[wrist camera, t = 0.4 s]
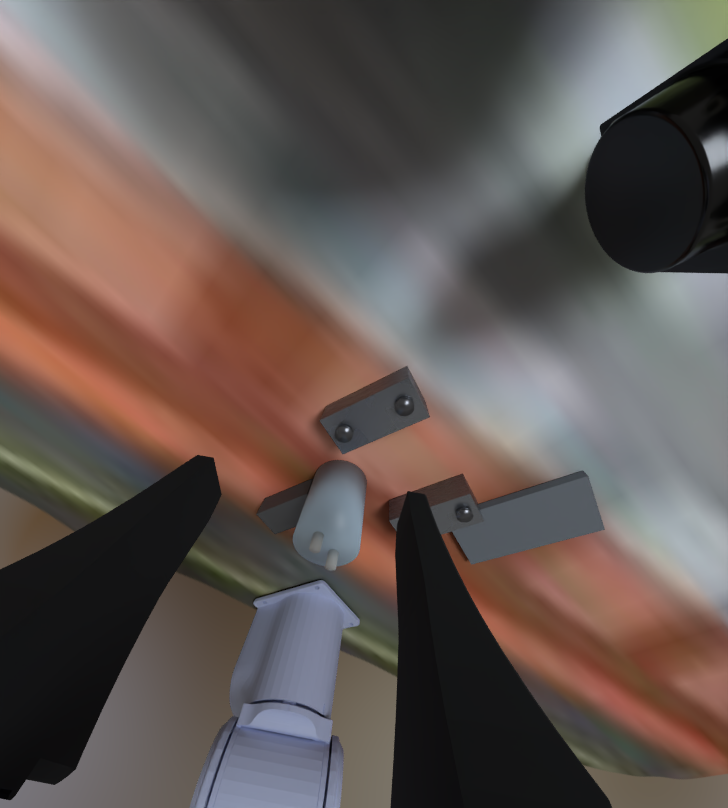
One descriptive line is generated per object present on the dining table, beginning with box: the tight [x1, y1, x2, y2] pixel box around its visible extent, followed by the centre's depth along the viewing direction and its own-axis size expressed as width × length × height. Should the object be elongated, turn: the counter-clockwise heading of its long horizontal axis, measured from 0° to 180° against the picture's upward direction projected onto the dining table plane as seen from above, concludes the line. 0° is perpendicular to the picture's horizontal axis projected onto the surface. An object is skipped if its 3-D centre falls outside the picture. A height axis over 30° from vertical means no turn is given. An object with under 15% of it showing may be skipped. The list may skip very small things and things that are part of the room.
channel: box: [319, 366, 484, 534], centre depth 21 cm, size 6×13×3 cm, turn 30°
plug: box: [257, 460, 367, 571], centre depth 21 cm, size 9×4×7 cm, turn 119°
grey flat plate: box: [452, 471, 605, 564], centre depth 24 cm, size 11×6×1 cm, turn 120°
